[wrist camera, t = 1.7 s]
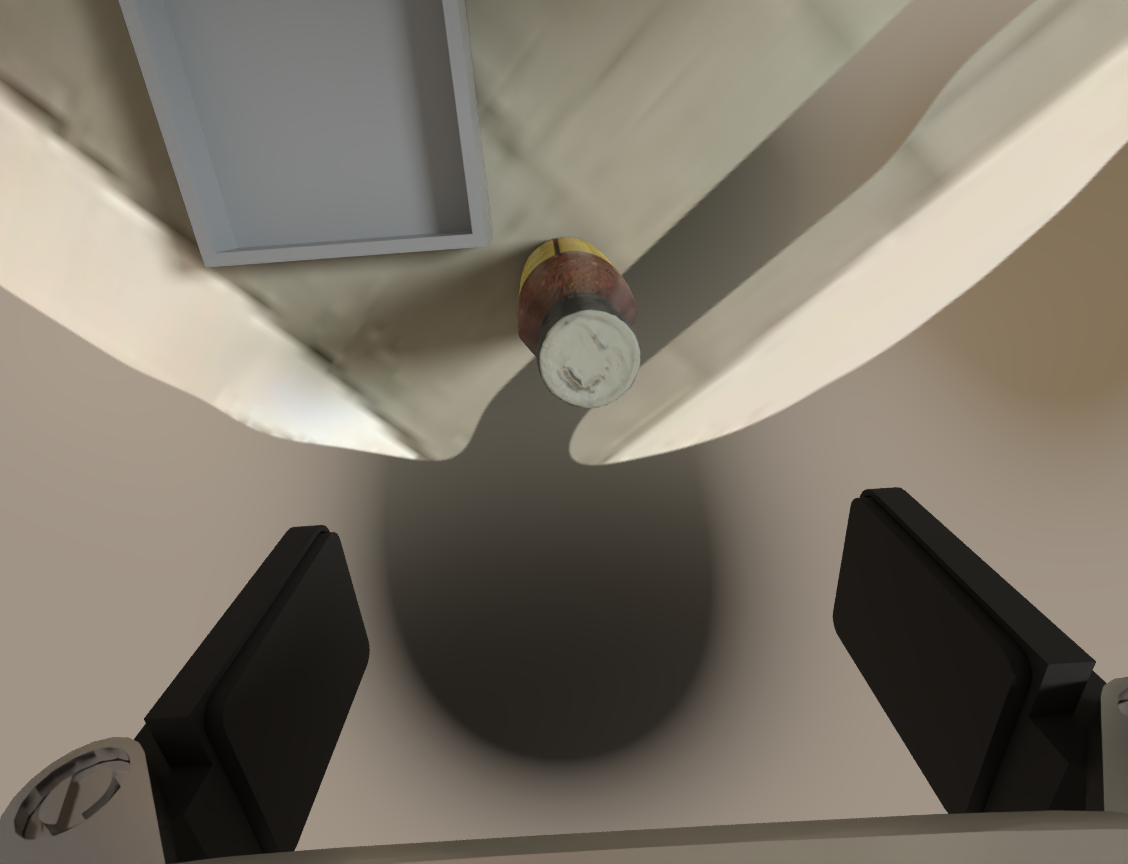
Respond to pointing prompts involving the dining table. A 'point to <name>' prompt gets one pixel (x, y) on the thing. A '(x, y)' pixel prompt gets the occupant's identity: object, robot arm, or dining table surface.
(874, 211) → the dining table surface
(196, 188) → the parts tray
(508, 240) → the dining table surface
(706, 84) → the dining table surface
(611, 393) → the sauce bottle
